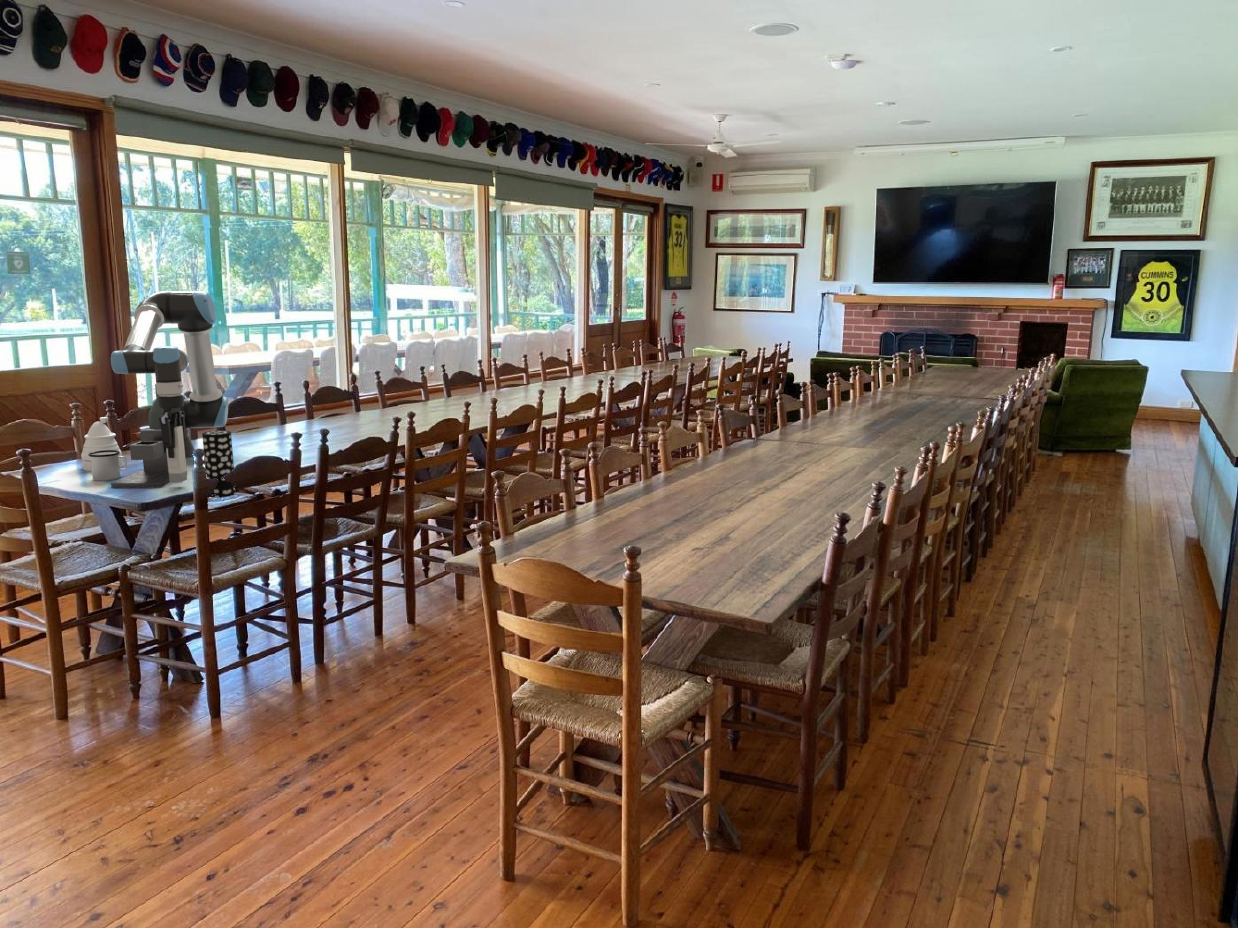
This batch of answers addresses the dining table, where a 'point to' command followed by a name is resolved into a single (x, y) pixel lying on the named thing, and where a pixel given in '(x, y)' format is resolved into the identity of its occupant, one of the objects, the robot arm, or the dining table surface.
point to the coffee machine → (147, 463)
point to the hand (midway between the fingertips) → (177, 465)
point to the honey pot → (98, 443)
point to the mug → (106, 465)
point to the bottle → (155, 415)
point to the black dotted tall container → (219, 460)
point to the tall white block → (180, 472)
